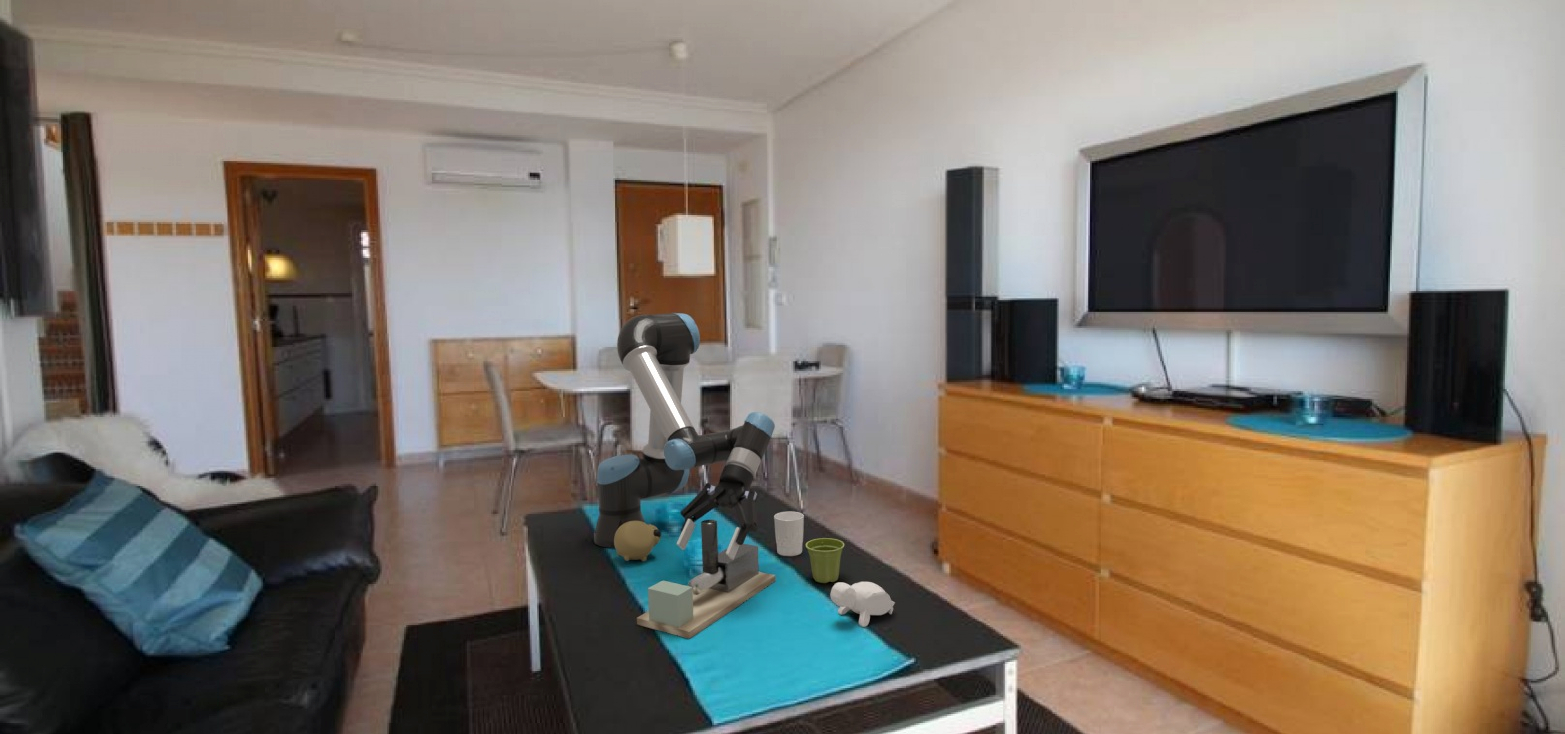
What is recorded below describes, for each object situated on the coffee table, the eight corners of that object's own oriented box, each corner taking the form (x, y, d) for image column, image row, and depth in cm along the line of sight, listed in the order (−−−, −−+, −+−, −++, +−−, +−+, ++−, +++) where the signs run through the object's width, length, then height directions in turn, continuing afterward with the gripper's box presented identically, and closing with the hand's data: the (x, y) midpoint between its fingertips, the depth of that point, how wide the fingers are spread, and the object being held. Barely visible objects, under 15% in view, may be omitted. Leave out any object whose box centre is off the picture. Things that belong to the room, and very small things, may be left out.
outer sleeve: (707, 588, 178) (706, 559, 177) (738, 569, 189) (738, 542, 188) (728, 592, 175) (727, 563, 174) (758, 573, 186) (758, 546, 185)
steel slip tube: (688, 593, 170) (686, 528, 168) (740, 562, 187) (738, 504, 186) (701, 596, 168) (699, 530, 166) (752, 565, 185) (750, 506, 184)
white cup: (804, 557, 201) (803, 520, 200) (774, 557, 201) (773, 520, 200) (804, 546, 209) (803, 511, 207) (775, 547, 209) (774, 511, 208)
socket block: (649, 619, 162) (647, 588, 161) (664, 610, 166) (662, 580, 165) (679, 627, 158) (677, 595, 157) (693, 618, 162) (692, 587, 161)
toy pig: (666, 559, 201) (665, 520, 200) (624, 570, 194) (622, 529, 193) (651, 549, 209) (649, 511, 208) (609, 559, 203) (607, 520, 201)
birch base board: (637, 624, 163) (636, 617, 163) (727, 571, 192) (727, 565, 192) (689, 638, 156) (689, 631, 156) (775, 581, 185) (775, 575, 185)
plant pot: (799, 582, 184) (798, 547, 183) (816, 569, 192) (815, 535, 191) (835, 588, 180) (834, 553, 179) (850, 575, 188) (850, 540, 187)
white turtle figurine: (866, 617, 171) (815, 609, 163) (876, 580, 172) (826, 570, 164) (892, 631, 164) (840, 623, 156) (902, 592, 165) (852, 583, 156)
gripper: (790, 485, 179) (758, 568, 167) (704, 473, 191) (668, 550, 180) (778, 468, 173) (744, 552, 162) (690, 457, 186) (653, 535, 175)
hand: (704, 551), depth 171 cm, fingers open, 13 cm apart
